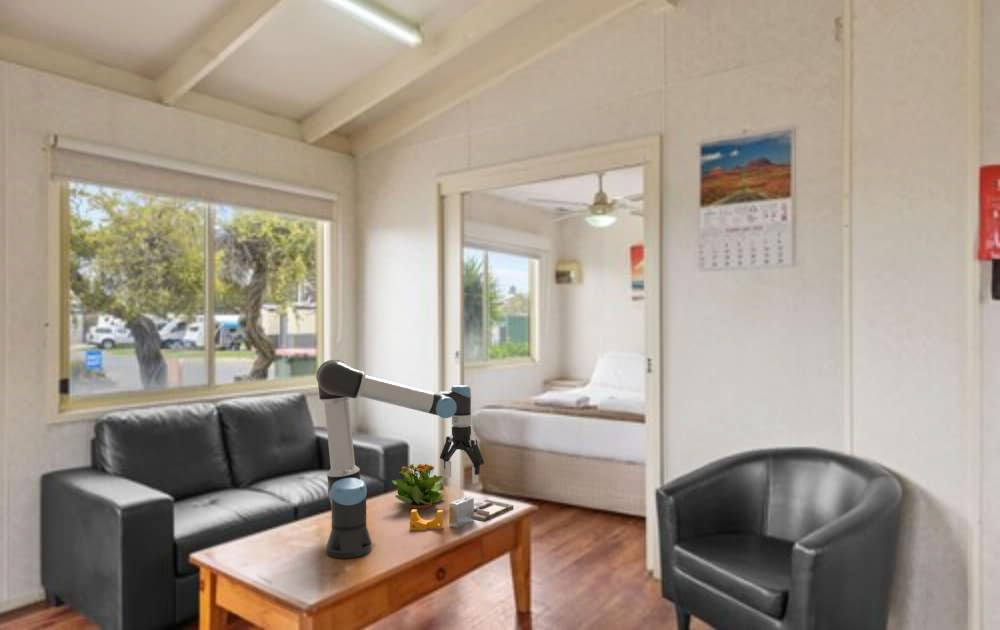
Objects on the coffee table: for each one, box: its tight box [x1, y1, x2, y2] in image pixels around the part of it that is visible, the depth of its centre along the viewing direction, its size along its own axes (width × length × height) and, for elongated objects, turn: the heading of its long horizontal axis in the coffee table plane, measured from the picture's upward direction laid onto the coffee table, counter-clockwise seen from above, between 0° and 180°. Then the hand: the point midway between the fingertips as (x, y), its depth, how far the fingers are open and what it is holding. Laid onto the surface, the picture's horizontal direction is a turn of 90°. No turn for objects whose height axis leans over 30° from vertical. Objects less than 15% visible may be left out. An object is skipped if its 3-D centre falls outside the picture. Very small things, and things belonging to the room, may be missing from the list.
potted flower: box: [391, 463, 445, 510], centre depth 259 cm, size 25×24×18 cm
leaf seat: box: [477, 500, 509, 516], centre depth 249 cm, size 13×6×2 cm, turn 144°
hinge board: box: [474, 499, 514, 522], centre depth 251 cm, size 20×14×2 cm
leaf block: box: [448, 496, 475, 529], centre depth 236 cm, size 10×4×9 cm, turn 144°
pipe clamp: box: [409, 508, 444, 531], centre depth 232 cm, size 12×4×6 cm, turn 85°
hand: (461, 480), depth 237 cm, fingers open, 13 cm apart
